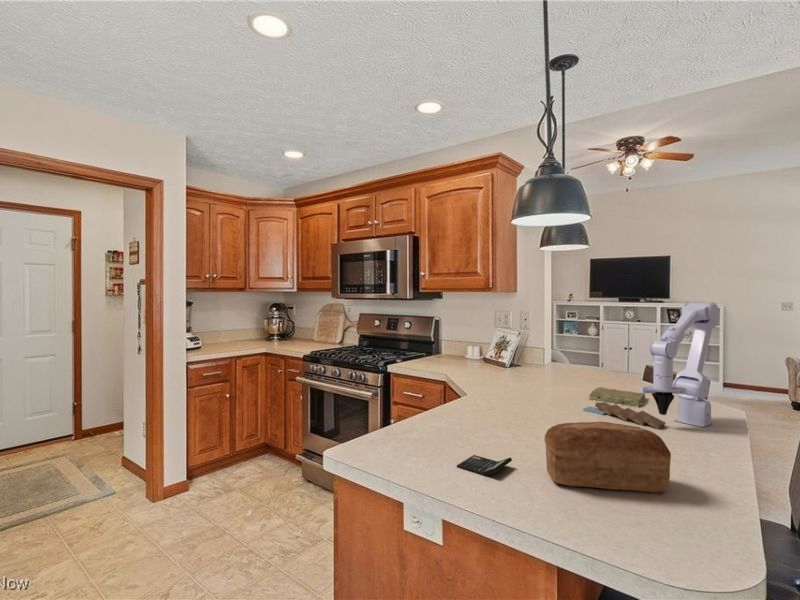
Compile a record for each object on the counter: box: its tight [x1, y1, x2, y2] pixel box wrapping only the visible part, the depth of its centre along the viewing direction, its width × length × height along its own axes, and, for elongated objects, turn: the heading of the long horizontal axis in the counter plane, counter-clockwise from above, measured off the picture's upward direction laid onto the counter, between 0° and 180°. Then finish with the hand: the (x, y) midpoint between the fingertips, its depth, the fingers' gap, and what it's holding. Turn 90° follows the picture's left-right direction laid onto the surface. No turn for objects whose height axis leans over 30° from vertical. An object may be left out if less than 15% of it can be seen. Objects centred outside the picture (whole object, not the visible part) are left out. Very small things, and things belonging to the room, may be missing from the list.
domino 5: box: [635, 410, 666, 430], centre depth 147 cm, size 2×5×8 cm
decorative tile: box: [588, 387, 646, 408], centre depth 183 cm, size 19×20×4 cm
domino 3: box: [607, 404, 632, 422], centre depth 156 cm, size 2×5×8 cm
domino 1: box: [582, 406, 608, 416], centre depth 164 cm, size 2×5×8 cm
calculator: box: [456, 454, 513, 476], centre depth 111 cm, size 9×12×3 cm
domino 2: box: [594, 402, 615, 417], centre depth 162 cm, size 2×5×8 cm
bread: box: [544, 421, 672, 493], centre depth 103 cm, size 12×28×14 cm, turn 80°
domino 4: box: [620, 407, 647, 426], centre depth 151 cm, size 2×5×8 cm
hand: (662, 414), depth 144 cm, fingers closed
